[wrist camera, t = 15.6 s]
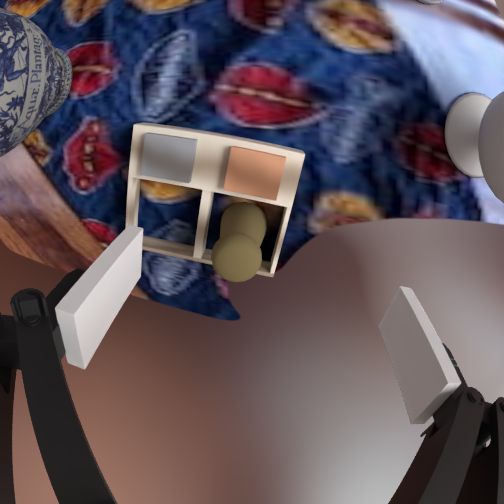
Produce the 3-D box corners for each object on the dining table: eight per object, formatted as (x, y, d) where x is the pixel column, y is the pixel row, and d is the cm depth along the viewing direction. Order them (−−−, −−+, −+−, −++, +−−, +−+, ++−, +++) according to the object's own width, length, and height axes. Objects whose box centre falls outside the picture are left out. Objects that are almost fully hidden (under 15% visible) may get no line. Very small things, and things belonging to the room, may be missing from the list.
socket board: (143, 122, 36) (130, 125, 32) (302, 150, 36) (305, 155, 33) (133, 236, 43) (122, 248, 39) (273, 265, 44) (273, 281, 40)
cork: (258, 251, 43) (253, 298, 33) (214, 236, 42) (197, 280, 32) (274, 211, 40) (274, 249, 30) (228, 195, 40) (214, 228, 30)
